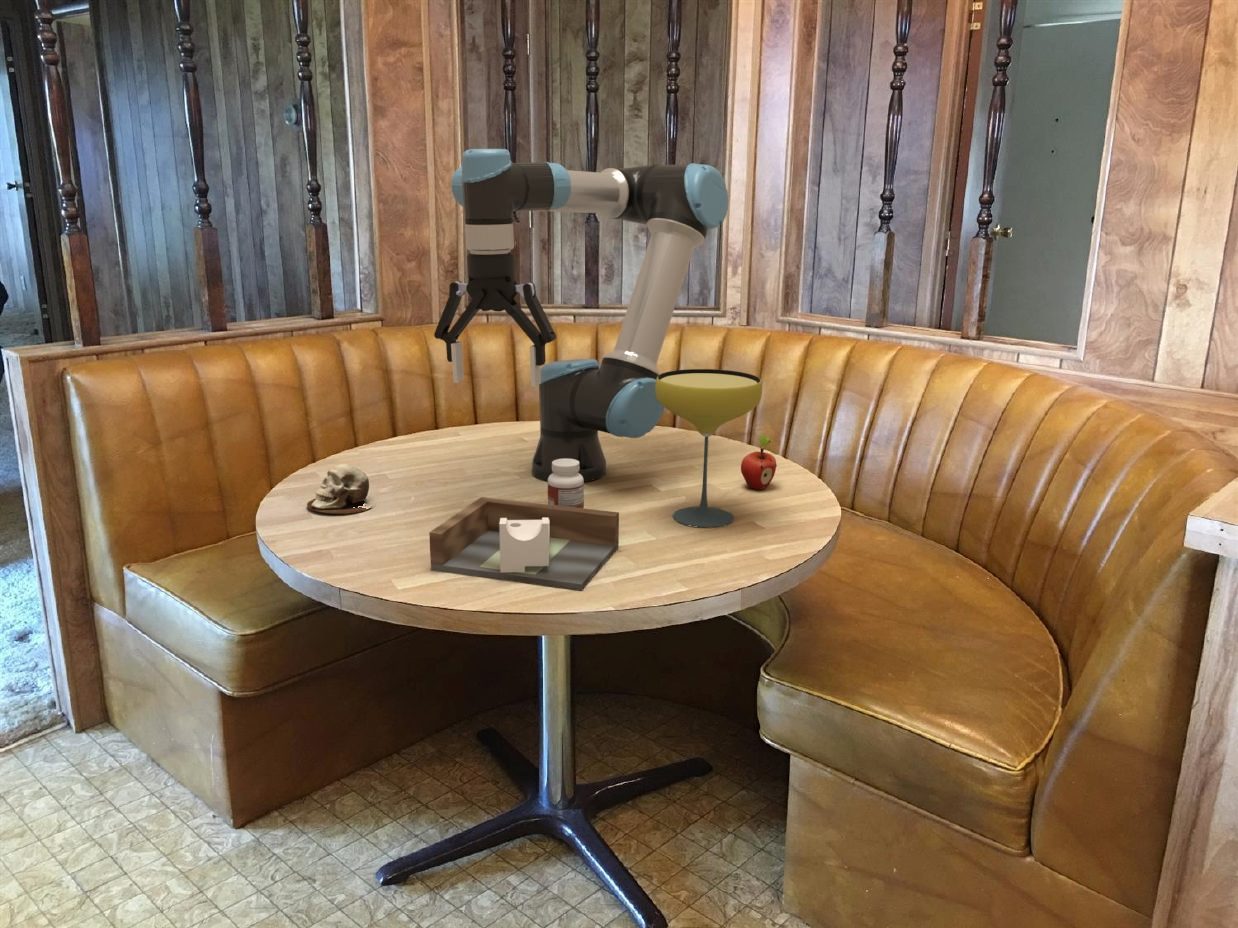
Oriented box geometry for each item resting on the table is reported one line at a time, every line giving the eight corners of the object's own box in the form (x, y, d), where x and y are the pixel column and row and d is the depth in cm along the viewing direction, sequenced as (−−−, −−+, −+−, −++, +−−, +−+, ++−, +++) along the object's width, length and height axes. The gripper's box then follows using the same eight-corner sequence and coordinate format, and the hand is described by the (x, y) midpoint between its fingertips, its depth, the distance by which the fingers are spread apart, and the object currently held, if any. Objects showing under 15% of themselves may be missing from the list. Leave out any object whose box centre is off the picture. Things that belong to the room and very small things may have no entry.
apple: (777, 493, 178) (780, 443, 176) (742, 493, 178) (744, 442, 175) (771, 481, 186) (774, 433, 183) (737, 481, 186) (739, 432, 183)
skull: (324, 517, 159) (304, 466, 162) (312, 542, 167) (293, 493, 170) (389, 501, 166) (369, 453, 169) (374, 526, 174) (355, 479, 177)
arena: (482, 530, 156) (481, 496, 155) (618, 547, 150) (618, 512, 148) (431, 569, 140) (429, 532, 138) (581, 590, 133) (581, 551, 132)
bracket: (548, 571, 137) (548, 523, 135) (500, 572, 137) (499, 524, 134) (549, 540, 149) (549, 495, 147) (505, 540, 149) (504, 496, 147)
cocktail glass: (728, 542, 152) (735, 393, 145) (633, 522, 161) (635, 380, 154) (770, 512, 167) (779, 375, 160) (681, 495, 176) (685, 365, 169)
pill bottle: (547, 518, 163) (546, 457, 160) (582, 517, 164) (582, 456, 161) (548, 530, 157) (547, 467, 154) (584, 529, 158) (584, 466, 155)
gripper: (572, 250, 148) (575, 381, 154) (428, 248, 154) (437, 375, 160) (558, 254, 141) (562, 391, 147) (407, 252, 147) (417, 384, 153)
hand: (497, 383), depth 154 cm, fingers open, 13 cm apart
